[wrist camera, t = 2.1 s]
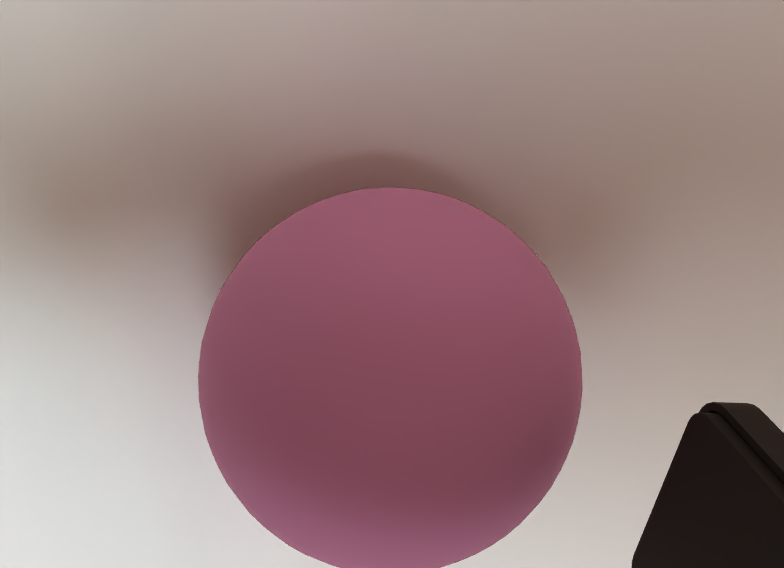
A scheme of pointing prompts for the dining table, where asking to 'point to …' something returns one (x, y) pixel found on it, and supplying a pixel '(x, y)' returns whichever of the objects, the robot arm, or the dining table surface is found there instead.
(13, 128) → the dining table surface
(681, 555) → the robot arm
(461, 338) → the plum ball
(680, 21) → the dining table surface
